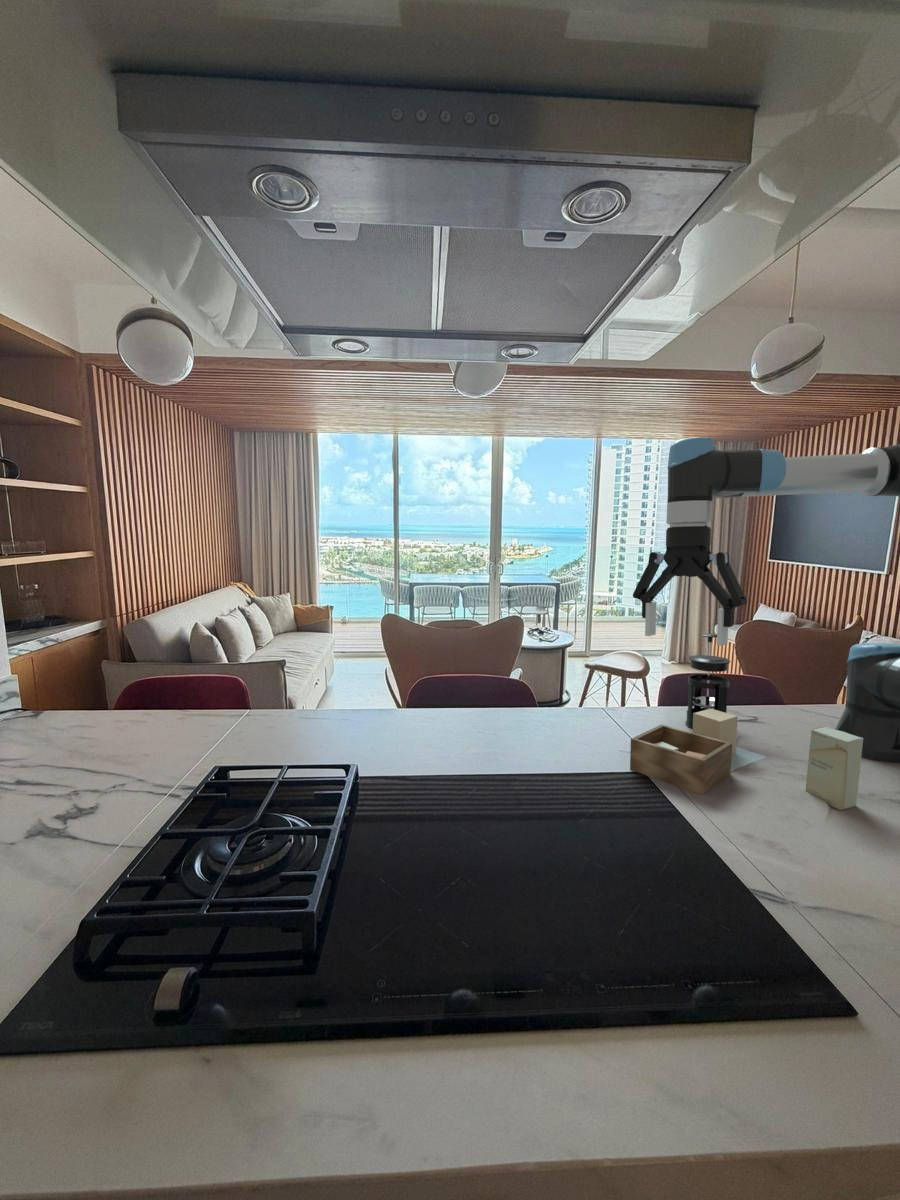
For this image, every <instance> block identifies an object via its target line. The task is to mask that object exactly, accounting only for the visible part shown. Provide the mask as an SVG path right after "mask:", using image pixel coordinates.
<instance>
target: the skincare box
mask: <svg viewBox="0 0 900 1200" xmlns="http://www.w3.org/2000/svg"><path fill="white" fill-rule="evenodd" d="M809 741H810V743H809V752H808V762H807V772H806V782H805V792H807V793H809V794H812V795H814V796H816V797H818V798H820V799H823V800H825V801H826V805H827V804H828V806H830V807H832V808H834V809H836V808H837V810H839V811H842V810H846V809H850V808H853V807H856V806H857V803H858V802H857V800H858V793H859V791H858V790H859V782H860V781H859V779H860V771H861V762H862V756H861V755H862V746H863V738H861V737H858V736H855V735H852V734H849V733H846V732H843V731H839V730H836V729H835V728H832V727H830V726H827V725H826V726H822V727H817V728H811V732H810V740H809Z"/></svg>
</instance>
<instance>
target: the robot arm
mask: <svg viewBox="0 0 900 1200" xmlns="http://www.w3.org/2000/svg"><path fill="white" fill-rule="evenodd" d="M715 443H716V442H715V440H714V438H712V437H705V436H697V437H696V436H694V437H693V436H692V437H685V438H681V439H678V440H676V441H674V442H672V444H671V445H670V446H669V451H668V452H669V453H668V458H667V459H668V460H667V461H668V462H667V466H666V467H667V502H666V521H665V522H666V524H667V525H669V527H667V528H666V530H665V531H666V532H665V534H666V535H665V546H666V547H665V548H666V550H665V553H662V552H660V551H652V552H650V553H649V555H648V562H647V564H646V567H645V569H644V570H643V573H642V575H641V577H640V579H639V582H638V584H636V587H635V589H634V591H633V592H632V597H633V598H634V599H637V600H640V602H641V616H642V617H641V618H642V619H645V622H644V623H645V625H644V626H645V627H644V629H645V630H644V636H645V637H651V636H655V635H656V629H657V601H655V600H654V599H655V598H656V597H657V596H658V594H659V593H660V592H661V591H662V590H663V589H664V588H665V587H666V586H667V585H668V583H669V582H670V581H671V580H672V579H673V578H675V577H687V578H688V577H691V578H692V577H694V578H695V577H697V578H698V579H699V580H700V581H702V582H703V583H704V584H705V586H706V587H707V589H708V590H709V591H710V592H711V594H712V595H713V596H714V597H715V598H716V599H717V601H718V602H719V604H720V605H721V606H722V607H721V608H718V609H717V625H716V626H717V630H716V634H717V637H716V646H720V647H721V646H726V645H728V641H729V639H728V638H729V628H732V627H733V626H734V625H735V610H736V608H738V607H742V606H745V605H747V604H748V600H747V598H746V595H745V593H744V591H743V590H742V587H741V585H740V583H739V581H738V578H737V577H736V574H735V573H734V571H733V569H732V566H731V565H730V554H729V552H727V551H722V552H721V551H720V552H717V553H711V544H712V543H711V541H712V539H711V538H712V528H710V526H708V524H711V523H712V512H713V511H712V510H713V500H714V499H727V498H743V497H763V496H764V497H767V496H786V495H787V496H788V495H789V496H790V495H809V494H813V495H814V494H831V493H833V494H834V493H854V492H855V493H856V492H857V493H858V494H859V495H861V496H864V497H879V496H882V497H884V496H885V497H900V443H899V444H894V445H889V446H883V447H881V446H880V447H869V448H867V449H865V450H864V451H862V452H860V453H851V454H850V453H849V454H830V455H829V454H828V455H827V454H826V455H825V454H824V455H809V456H807V455H805V456H789V457H788V456H787V457H786V456H785V455H784V454H783V452H781V451H780V450H778V449H766V448H765V449H764V448H760V449H737V450H736V449H733V450H732V449H731V450H730V449H729V450H723V449H721V450H720V449H716V444H715ZM663 561H664V562H665V563H666V565H667V566H666V567H665V568H664V570H663V571H662V572H661V574H660V575H659V576H658V578H657V579H656V580H655V581H654V582H653V579H654V577H655V576H656V574H657V571H658V570H659V568H660V567H661V566H660V565H661V564H662V563H663ZM712 562H713V564H714V565H715V566H716V567H717V570H718V572H719V575H720V576H721V578H722V580H723V583H724V585H725V587H726V589H727V591H728V592H727V591H726V589H725V588H724V587H723V586H722V585H721V583H720V582H719V580H717V578H716V577H715V576H714V573H713V571H712V570H711V569H710V568H709V567H708V565H710V563H712ZM652 582H653V584H652ZM651 584H652V585H651ZM846 662H847V674H846V689H845V691H846V692H845V705H844V707H845V708H844V711H843V712H842V714H841V716H840V717H839V720H838V722H837V724H836V726H835V728H834V729H836V730H839V731H843V732H846V733H849V734H852V735H855V736H858V737H861V738H863V746H862V755H861V757H863V758H868V759H872V760H878V761H883V762H892V763H900V643H883V642H882V643H880V642H879V643H878V642H877V643H873V642H871V643H867V642H866V643H865V642H864V643H855V644H854V645H852V646H851V647H850V649H849V653H848V658H847V661H846Z"/></svg>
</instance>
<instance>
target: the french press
mask: <svg viewBox="0 0 900 1200" xmlns="http://www.w3.org/2000/svg"><path fill="white" fill-rule="evenodd" d="M700 636H701V637H705V638H707V643H708V655H707V654H706V655H705V654H703V655H701V654H698V655H697V654H695V655H691V656H688V660H689V661H690V668H691V669H694V670H697V671H701V672H702V671H703V672H707V674H704V673H698V674H697V673H695V674H691V675H689V676H687V683H688V703H687V710H686V721H685V726H686V727H687V726H688V727H687V728H689V729H690V728H691V729H690V730H693V713H696V712H700V711H703V710H707V709H714V710H718V711H721V712H725V713H727V707H728V705H727V704H728V688H729V687H730V679H728V678H726V677H723V676H720V675H713V674H710V672H713V673H718V672H719V673H720V672H726V671H728V670H729V664H730V663H731V660H730V658H727V657H722V656H715V655H711V649H712V648H711V646H712V645H711V644H712V643H713V638H717V633H710V632H709V633H707V632H706V633H701V634H700ZM702 680H703V681H704V680H706V681H707V682H703V681H702ZM710 681H715V682H719V683H711V682H710ZM702 689H706V696H702ZM710 690H714V696H710V695H709V694H710V693H709V692H710Z"/></svg>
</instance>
